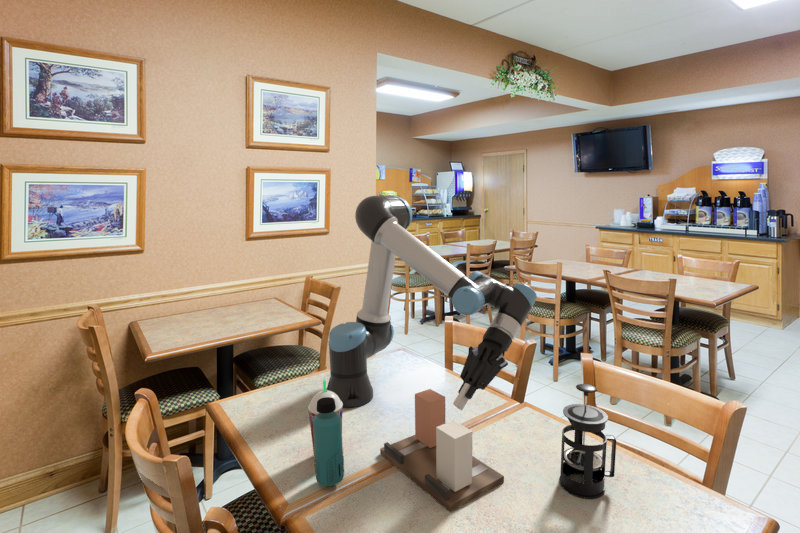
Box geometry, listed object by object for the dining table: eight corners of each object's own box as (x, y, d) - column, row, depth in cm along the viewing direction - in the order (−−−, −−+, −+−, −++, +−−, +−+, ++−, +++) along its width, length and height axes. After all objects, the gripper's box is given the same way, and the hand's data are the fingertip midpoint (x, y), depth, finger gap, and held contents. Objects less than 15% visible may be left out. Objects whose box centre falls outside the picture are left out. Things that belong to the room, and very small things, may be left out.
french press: (560, 497, 95) (565, 394, 91) (552, 470, 104) (555, 376, 100) (619, 501, 93) (626, 397, 89) (605, 474, 102) (611, 378, 99)
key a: (453, 469, 102) (453, 420, 100) (472, 482, 97) (472, 431, 95) (436, 477, 99) (436, 427, 97) (454, 492, 94) (454, 438, 92)
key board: (429, 433, 121) (429, 421, 120) (503, 482, 100) (504, 467, 99) (380, 454, 112) (380, 441, 111) (450, 512, 91) (450, 496, 90)
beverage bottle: (342, 493, 97) (339, 406, 94) (312, 493, 97) (307, 407, 94) (346, 474, 104) (343, 393, 101) (318, 474, 104) (314, 393, 101)
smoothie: (350, 451, 113) (347, 376, 110) (335, 470, 106) (331, 389, 102) (321, 445, 116) (317, 372, 113) (304, 463, 108) (300, 385, 105)
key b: (430, 431, 118) (430, 388, 116) (445, 441, 113) (445, 396, 111) (415, 437, 115) (414, 393, 113) (430, 448, 110) (429, 402, 109)
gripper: (526, 346, 121) (482, 423, 114) (490, 335, 131) (448, 405, 124) (513, 331, 117) (467, 409, 110) (477, 320, 128) (433, 392, 120)
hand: (457, 407), depth 117 cm, fingers closed
